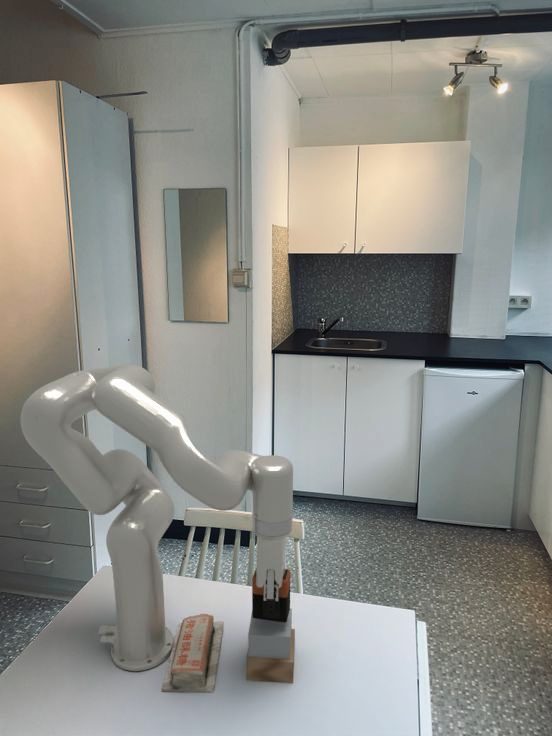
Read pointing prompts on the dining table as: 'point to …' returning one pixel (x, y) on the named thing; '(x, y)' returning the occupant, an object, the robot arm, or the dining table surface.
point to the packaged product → (194, 655)
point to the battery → (283, 595)
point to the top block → (270, 638)
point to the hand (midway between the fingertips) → (271, 605)
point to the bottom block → (272, 667)
